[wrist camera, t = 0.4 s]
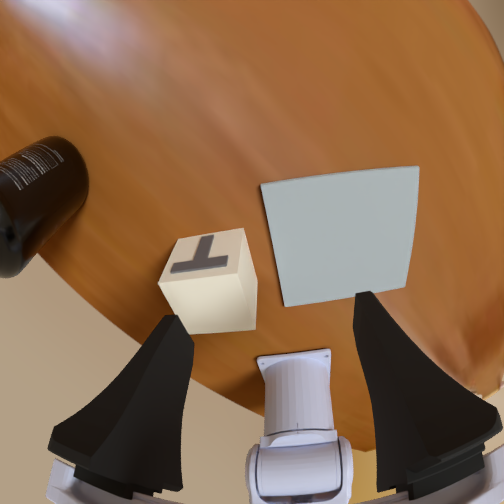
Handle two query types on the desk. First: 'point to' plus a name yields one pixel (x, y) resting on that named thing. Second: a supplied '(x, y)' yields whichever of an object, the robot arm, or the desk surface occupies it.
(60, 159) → the supplement bottle
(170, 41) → the desk surface
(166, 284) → the letter block
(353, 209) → the slate mat
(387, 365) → the robot arm
